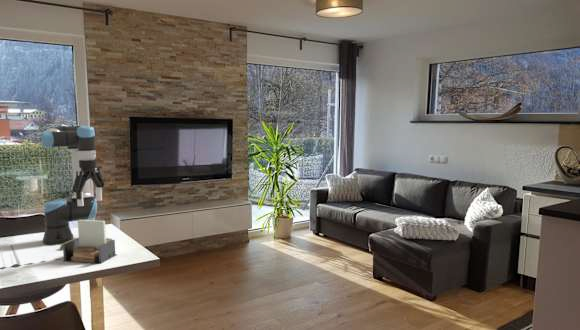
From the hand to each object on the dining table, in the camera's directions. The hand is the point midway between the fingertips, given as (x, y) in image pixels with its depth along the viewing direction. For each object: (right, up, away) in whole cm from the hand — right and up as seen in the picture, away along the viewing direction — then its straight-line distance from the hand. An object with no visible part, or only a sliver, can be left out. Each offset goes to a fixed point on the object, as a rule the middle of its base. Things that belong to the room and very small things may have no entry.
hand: (90, 203), depth 205 cm
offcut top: (-2, -23, -2) cm, 23 cm away
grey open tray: (-14, -26, +25) cm, 39 cm away
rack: (0, -28, +1) cm, 28 cm away
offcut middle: (-1, -25, -2) cm, 25 cm away
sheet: (0, -26, +3) cm, 27 cm away
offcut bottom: (-1, -27, -2) cm, 27 cm away
